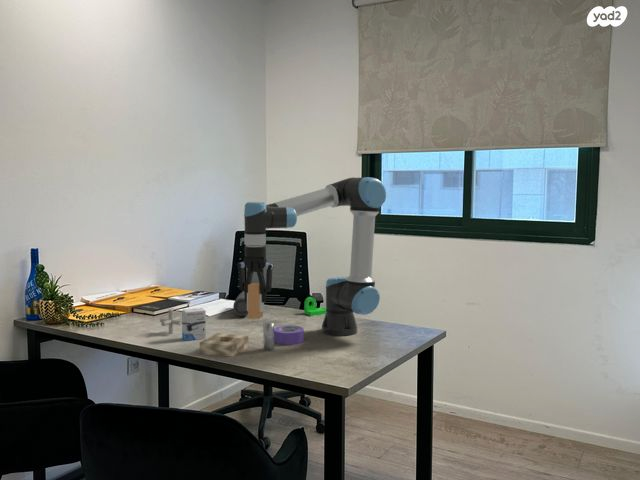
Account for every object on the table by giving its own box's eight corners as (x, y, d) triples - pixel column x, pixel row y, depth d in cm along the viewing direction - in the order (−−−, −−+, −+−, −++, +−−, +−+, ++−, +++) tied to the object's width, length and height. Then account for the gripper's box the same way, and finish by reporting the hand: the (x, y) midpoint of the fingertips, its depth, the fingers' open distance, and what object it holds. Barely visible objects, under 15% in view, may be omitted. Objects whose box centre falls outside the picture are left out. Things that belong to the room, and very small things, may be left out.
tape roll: (292, 347, 221) (292, 334, 221) (267, 342, 227) (267, 329, 227) (309, 340, 231) (309, 327, 231) (285, 335, 237) (285, 323, 237)
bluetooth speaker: (252, 318, 266) (252, 297, 265) (232, 318, 267) (232, 296, 266) (258, 307, 289) (258, 288, 288) (239, 307, 289) (239, 287, 288)
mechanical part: (311, 316, 272) (311, 299, 271) (304, 314, 277) (304, 297, 276) (332, 313, 278) (332, 297, 277) (325, 311, 283) (325, 295, 282)
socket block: (248, 346, 221) (248, 336, 221) (232, 356, 208) (232, 345, 207) (217, 343, 225) (217, 333, 224) (199, 353, 212) (199, 342, 211)
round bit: (275, 348, 218) (275, 322, 218) (272, 351, 215) (271, 324, 214) (265, 347, 220) (265, 321, 219) (262, 350, 216) (261, 324, 215)
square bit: (262, 316, 209) (262, 283, 207) (258, 318, 205) (258, 285, 204) (252, 315, 210) (252, 283, 209) (248, 318, 206) (247, 284, 205)
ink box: (185, 341, 227) (184, 311, 226) (182, 338, 232) (181, 309, 230) (206, 338, 231) (206, 309, 230) (202, 335, 235) (202, 307, 234)
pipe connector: (188, 332, 241) (188, 308, 240) (173, 337, 232) (172, 313, 231) (169, 329, 246) (169, 306, 245) (153, 334, 237) (153, 310, 236)
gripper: (281, 245, 206) (281, 310, 208) (237, 243, 211) (237, 306, 213) (273, 247, 199) (273, 314, 201) (228, 245, 204) (229, 311, 206)
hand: (255, 310), depth 207 cm, fingers closed on square bit, 4 cm apart
